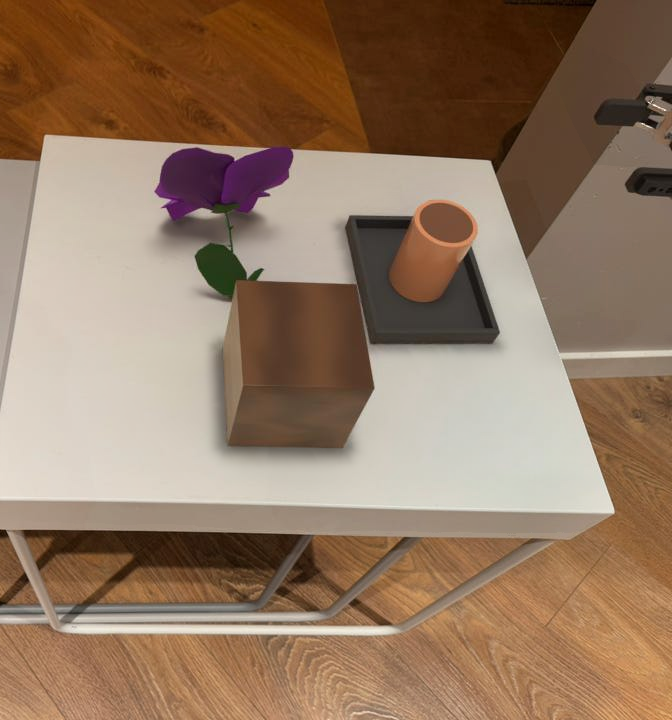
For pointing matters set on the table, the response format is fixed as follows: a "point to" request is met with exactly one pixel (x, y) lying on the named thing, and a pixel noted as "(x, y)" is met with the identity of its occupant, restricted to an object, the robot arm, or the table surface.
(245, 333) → the block
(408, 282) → the cup
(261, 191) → the flower
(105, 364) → the table surface
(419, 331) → the tray
